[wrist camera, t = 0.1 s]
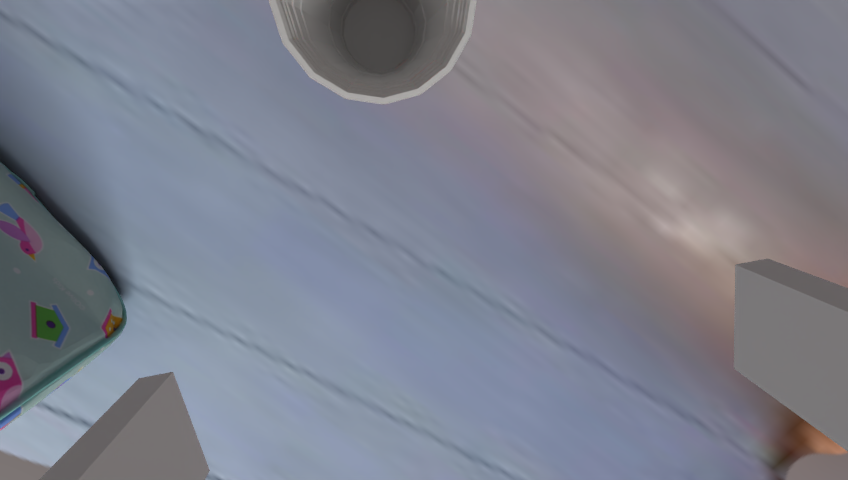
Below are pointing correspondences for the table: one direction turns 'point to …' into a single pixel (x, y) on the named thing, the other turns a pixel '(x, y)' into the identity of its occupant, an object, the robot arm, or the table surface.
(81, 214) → the table surface
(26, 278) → the lunch box
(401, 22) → the plastic cup
